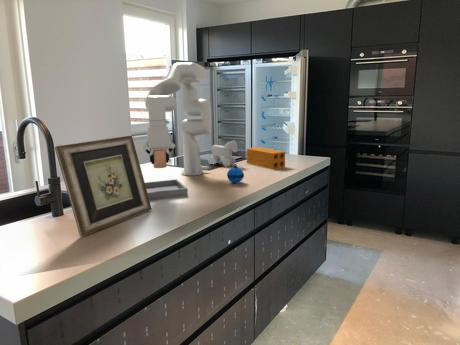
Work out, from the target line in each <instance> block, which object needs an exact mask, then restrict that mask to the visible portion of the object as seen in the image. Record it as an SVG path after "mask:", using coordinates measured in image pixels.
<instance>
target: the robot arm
mask: <svg viewBox="0 0 460 345" xmlns="http://www.w3.org/2000/svg"><path fill="white" fill-rule="evenodd" d="M206 71H207V70H206V69H205V67H204V66H202V65H200V64H198V63H197V62H192V61H191V62H189V61H188V62H187V61H186V62H185V61H184V62H176V63H173V64H172V65H171V67H170V69H169V70H168V73H167V75H166V77H165V79H164V80H162V81H160V82H158V83H157V84H156V85H154V86H153V87H152V88H151V89H150V90H149V91H148V94H147V96H146V99H145V101H144V102H145V108H146V110H148V122H149V123H148V124H149V125H148V126H147V128H146V142H145V143H144V144H143V145H142V146H141V149H142V150H143V151H145V152H146V153H147V154H148V155H149V162H150V163H151V164H152V165H153V164H154V156H153V151H154V149H165V150H166V164H168V163H169V161H170V154H171V152H172V151H173V150H174V148H176V144H175V143H174V142H173V141H172V140H171V137H170V132H169V127H168V126H167V125H168V124H170V120H167V118H166V116H167V115H166V113H167V112H169V113H170V112H173V111H175V109H176V108H177V100H176V98H175V97H174V96H172V95H173V94H175V93H177V92H178V91H180V89H181V91H182V93H181V94H182V112H183V114H184V116H186V117H201V118H186V119H183V120H181V122H180V132H181V137H182V152H183V170H181V174H182V175H183V176H201V175H203V174H204V170H209V165H204V166H203V165H201V147H200V145H201V144H200V141H199V139H198V138H197V137H202V136H203V137H205V136H207V137H208V136H209V135H210V134H211V133H212V105H211V102H210V101H209V100H208V99H207V98H206V99H205V98H199V96H198V94H199V93H198V91H199V90H198V88H197V87H196V85H195V84H194V83H203V82H204V81H205V80H206V78H207V72H206Z"/></svg>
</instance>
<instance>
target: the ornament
mask: <svg viewBox="0 0 460 345" xmlns="http://www.w3.org/2000/svg"><path fill="white" fill-rule="evenodd" d="M226 177H227V179H228V180H229V182H230V183H233V184H239V183H240V182H241V181H243V178H244V177H245V173H244V171H243V170H242V169H241V168H240V167H239V166H238V165H237V163H235V164H234V165H233V167H231V168H230V169H229V170H228V171H227V173H226Z"/></svg>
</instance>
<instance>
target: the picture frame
mask: <svg viewBox="0 0 460 345" xmlns="http://www.w3.org/2000/svg"><path fill="white" fill-rule="evenodd" d="M54 150H55V154H56V157H57V160H58V164H59V167H60V171H61V174H62V178H63V180H64V181H63V182H64V184H65V185H64V186H65V188H66V192H67V196H68V199H69V203H70V205H71V209H72V213H73V217H74V220H75V224H76V227H77V230H78V235H79V237H82V238H83V237H84V236H86V235H90V234H93V233H95V232H97V231H100V230H102V229H105V228H108V227H111V226H113V225H116V224H118V223H120V222H121V223H122V222H123V221H125V220H129V219H131V218H133V217H136V216H139V215H141V214H144V213H146V212H149V211H152V209H153V208H152V205H151V200H149V197H148V193H147V190H146V186H145V179H144V174H143V171H142V169H141V168H142V167H141V164H140V161H139V156H138V152H137V150H136V146H135V142H134V139H133V135H126V136H119V137H112V138H106V139H98V140H90V141H84V142H79V143H70V144H64V145H57V146H56V145H55V147H54Z"/></svg>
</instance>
